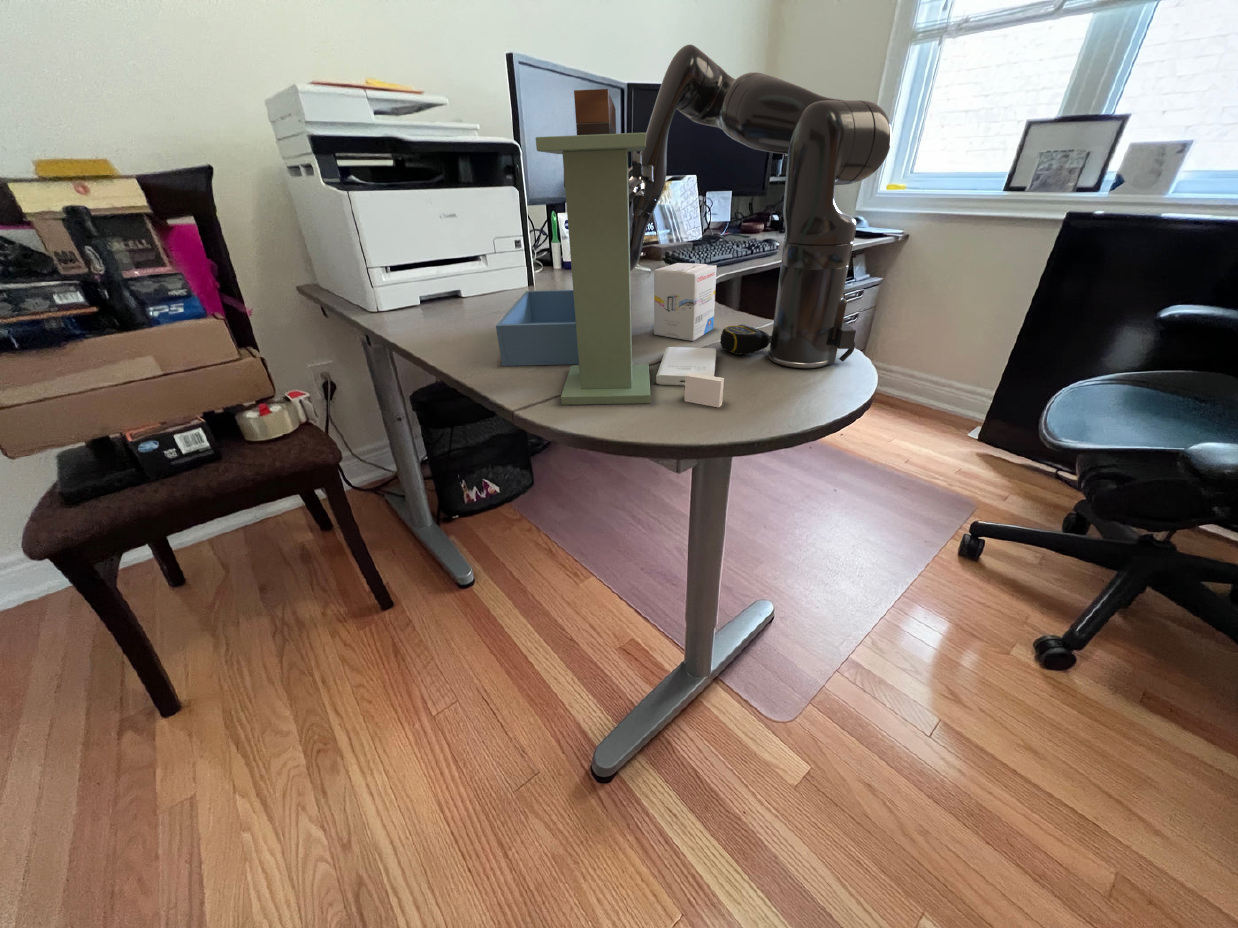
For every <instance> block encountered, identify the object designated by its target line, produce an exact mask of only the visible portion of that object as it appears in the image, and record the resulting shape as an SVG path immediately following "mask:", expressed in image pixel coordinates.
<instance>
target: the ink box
mask: <svg viewBox="0 0 1238 928" xmlns="http://www.w3.org/2000/svg"><path fill="white" fill-rule="evenodd" d="M653 275H654V276H653V277H654V278H653V280H654V281H653V282H654V284H653V285H654V286H653V289H654V290H653V291H654V292H653V293H654V294H653V306H654V307H653V309H654V310H653V335H654V336H661V337H666V338H673V339H677V340H684V341H690V342H694V341H695V340H697V339H699V338H701V337H702V336H704V335H705V334H708V333H709V332H711V331H712V330H714V323H715V322H714V321H715V302H716V285H717V265H716V264H715V265H714V264H713V265H710V264H706V263H688V262H676V263H672V264H670V265H666V266H662V267H659V268H656V269H654V270H653Z"/></svg>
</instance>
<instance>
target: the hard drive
mask: <svg viewBox="0 0 1238 928" xmlns="http://www.w3.org/2000/svg"><path fill="white" fill-rule="evenodd" d="M716 360H717V349H716V348H714V347H711V348H710V347H684V346H683V347H682V346H681V347H680V346H668V347H666V348H665V351H664V353H663V356H662V359H661V362H660V364H659V367H658V370H657V373H656V376H655V377H656V378H655V383H656V384H657V385H661V386H663V385H664V386H684V387H685V376H686V375H687V374H688V373H695V374H701V375H708V376H714V377H715V371H716Z"/></svg>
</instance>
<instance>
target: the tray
mask: <svg viewBox="0 0 1238 928" xmlns="http://www.w3.org/2000/svg"><path fill="white" fill-rule="evenodd" d="M495 330H496V335H497V341H498V350H499V354H500V360H501V366H502V367H516V366H517V367H518V366H519V367H521V366H562V365H563V366H565V365H566V366H567V365H570V366H571V365H579V357H578V345H577V332H576V319H575V306H574V294H573V289H554V290H553V289H551V290H526V291H524V293H523V294H522V295H521V296H520V298H518V299H517V301H516V302H515V303H514V304H513V305H512V306H511V307H510V309H508V311H507V312H506V313H505V314H504V316H502V317H501V319H500V320H499V321H498V322H497V323H496V325H495Z"/></svg>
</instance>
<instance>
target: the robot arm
mask: <svg viewBox="0 0 1238 928" xmlns="http://www.w3.org/2000/svg"><path fill="white" fill-rule="evenodd" d="M676 111H678V112H679V113H681V114H682V115H683V116H685V117H686V118H687V119H689V120H691V121H692V122H694V123H696V124H699V125H704V126H709V127H713V128H717V129H720V130H722V131H723V132H724V134H726V136H728V137H729V138H731V140H734V141H735V142H738V143H740V144H742V145H743V146H746V147H748V148H750V149H753V150H756V151H760V152H765V153H766V152H767V153H774V154H781V155H787V160H786V172H785V186H784V197H783V208H782V209H783V211H782V215H783V216H782V218H783V223H784V238H783V246H782V253H781V260H780V261H781V262H780V263H781V264H780V269H779V277H778V284H777V293H776V298H775V299H776V300H775V308H774V316H773V321H772V323H773V324H772V331H771V335H769V350H768V359H769V360H770V361H771V362H773V363H775V364H778V365H780V366H784V367H787V368H796V369H814V368H815V369H816V368H821V367H824V366H828V365H835V363H836V358H837V353H838V350H846V351H845V352H844V353H843V354H842V355H841V356H840V357H838V360H839V361H841V362H844V361H845V360H847V359H848V358H849V357H850V356H851V355H852V354H853V352H854V351H855V348H856V341H855V337H856V334H857V330H856V329H855V328H854V327H852V326H851V325H849V324H848V323H847V322H844V319H845V315H846V309H847V306H848V305H847V304H848V300H847V299H845V298H844V297H843V296H844V292H845V287H846V282H847V276H848V271H849V266H850V262H851V261H850V260H851V256H852V251H853V246H854V241H855V237H856V231H857V221H856V219H855V218H854V217H853V216H851V215H849V214H847V213H845V212H843V211H842V210H840V209H839V208H838V207H837V205H836V203H835V189H836V187H835V186H845V185H852V184H855V183H858V182H861V181H864V180H865V179H867V178H869V177H870V176H872V175H873V174H874V173H875V172H877V170H879V168H881V166H882V164H883V163H884V162H885V160H886V159H887V157H888V155H889V152H890V150H891V146H892V137H893V135H892V134H893V133H892V126H891V123H890V119H889V117H888V115H887V113H886V112H885V110H884V109H883V108H882V107H881V106H880V105H879V104H877V103H875V102H873V101H869V100H861V99H860V100H858V99H856V100H854V99H853V100H849V99H848V100H845V99H838V98H831V97H826V96H823V95H820V94H818V93H816V92H814V91H811V90H810V89H807V88H804V87H802V86H800V85H797V84H795V83H792V82H790V81H786V80H784V79H781V78H778V77H776V76H774V75H773V76H772V75H770V74H765V73H762V72H757V71H755V72H746V73H744V74H741V75H740V76H738V77H737V78H734V77H732V76H731V75H730V74H729V73H728V72H727V71H725V69H723V68H722V67H721V66H720V65H718V63H716V62H715V60H713V59H712V58H710V57H709V56H708V55H707V54H705V52H704V51H702V50H701V49H699V48H698V47H697V46H696V45H693V44H685V45H684V46H682V47H681V48H680V49H678V51H677V52H676V53H675V55H674V56H673V57H672V59H671V61H670V63H669V65H668V66H667V68H666V71H665V74H664V77H663V78H662V81H661V84H660V87H659V90H658V94H657V97H656V100H655V103H654V106H653V110H652V113H651V115H650V119H649V122H648V126H647V128H646V132H645V133H646V147H645V149H644V151H639V153H638V151H631V152H632V153H631V154H632V155H631V157H632V158H631V161H632V165H631V167H628V187H629V237H630V272H632V271H633V270H634V269H636V267H637V266H638V265H639V262H640V259H641V255H642V250H643V245H644V240H645V236H646V232H647V228H648V226H649V225H648V224H649V222H650V220H651V218H652V216H653V214H654V211H655V209H656V207H657V205H658V203H659V201H660V200H661V197H662V194H663V191H664V188H665V186H666V185H665V184H666V179H667V166H668V165H667V163H668V162H667V160H668V157H667V154H668V153H667V152H668V141H669V140H668V138H669V132H670V129H671V128H670V127H671V124H672V121H673V118H674V116H675V114H676ZM563 187H564V188H565V179H564V178H563Z"/></svg>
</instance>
